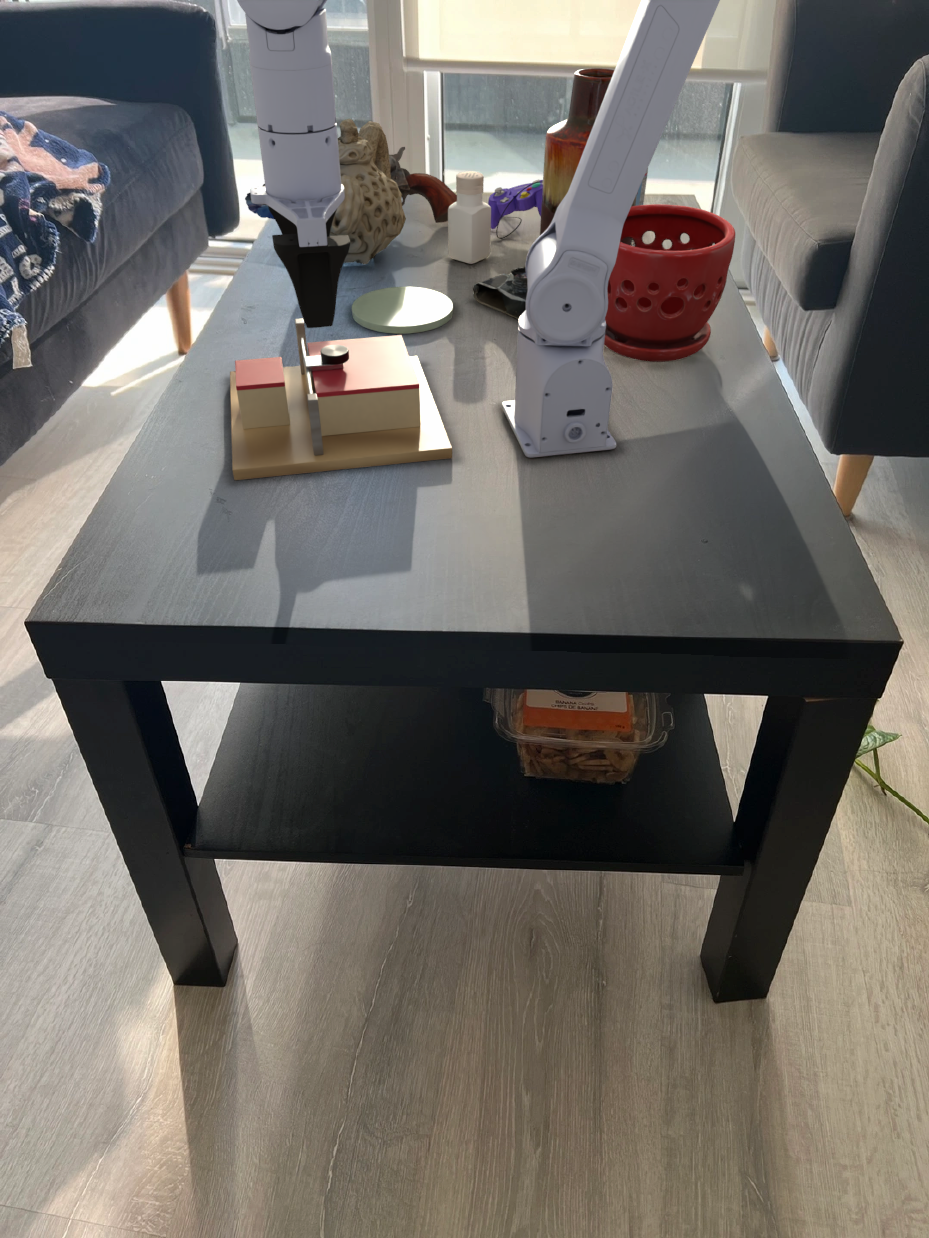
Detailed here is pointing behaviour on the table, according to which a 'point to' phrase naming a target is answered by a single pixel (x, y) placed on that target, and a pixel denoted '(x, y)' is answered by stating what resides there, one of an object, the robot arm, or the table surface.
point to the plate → (402, 310)
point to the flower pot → (667, 282)
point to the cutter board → (315, 453)
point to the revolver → (422, 187)
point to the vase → (572, 140)
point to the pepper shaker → (469, 220)
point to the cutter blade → (324, 360)
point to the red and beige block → (367, 387)
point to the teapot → (366, 192)
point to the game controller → (514, 201)
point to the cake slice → (262, 392)
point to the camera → (504, 292)
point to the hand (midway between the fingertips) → (315, 307)
